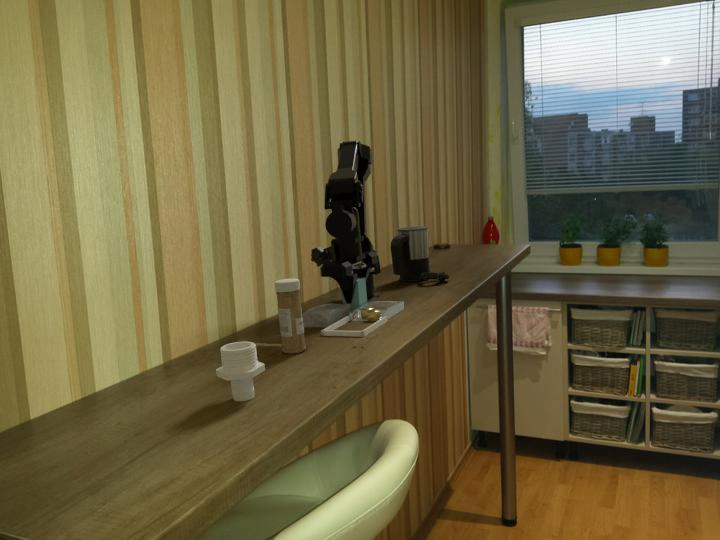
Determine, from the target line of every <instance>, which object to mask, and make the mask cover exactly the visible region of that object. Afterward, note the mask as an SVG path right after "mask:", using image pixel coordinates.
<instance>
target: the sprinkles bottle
mask: <svg viewBox="0 0 720 540" xmlns="http://www.w3.org/2000/svg"><path fill="white" fill-rule="evenodd" d="M300 283H301V282H300V279H298V278H294V277H293V278H282V279H278V280H275V281H274V290H275V293H276V300H277V311H278V314H277V315H278V321H279V331H280V336H281V343H282V352H283V353H284V354H289V355H291V354H292V355H293V354H300V353H302V352H305V351H306V349H307V345H306V341H305V339H306V338H305V327H304V325H303V317H302V313H303V308H302V303H301V301H302V300H301V293H300V291H301V284H300Z"/></svg>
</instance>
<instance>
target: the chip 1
mask: <svg viewBox="0 0 720 540" xmlns="http://www.w3.org/2000/svg"><path fill="white" fill-rule="evenodd" d="M373 309H374V307H364V308H361V317H362V318H367V311H368V310H373Z"/></svg>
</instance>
